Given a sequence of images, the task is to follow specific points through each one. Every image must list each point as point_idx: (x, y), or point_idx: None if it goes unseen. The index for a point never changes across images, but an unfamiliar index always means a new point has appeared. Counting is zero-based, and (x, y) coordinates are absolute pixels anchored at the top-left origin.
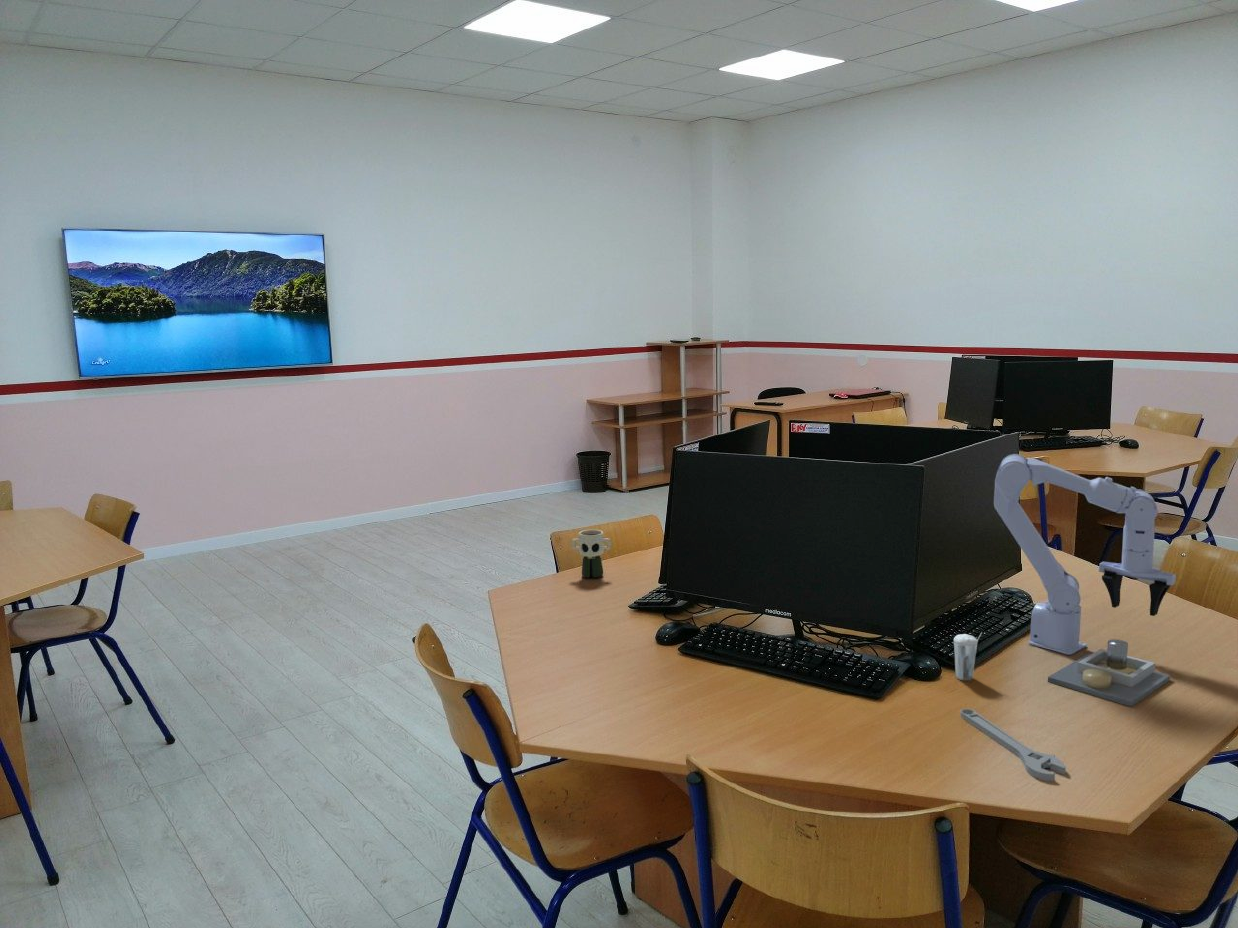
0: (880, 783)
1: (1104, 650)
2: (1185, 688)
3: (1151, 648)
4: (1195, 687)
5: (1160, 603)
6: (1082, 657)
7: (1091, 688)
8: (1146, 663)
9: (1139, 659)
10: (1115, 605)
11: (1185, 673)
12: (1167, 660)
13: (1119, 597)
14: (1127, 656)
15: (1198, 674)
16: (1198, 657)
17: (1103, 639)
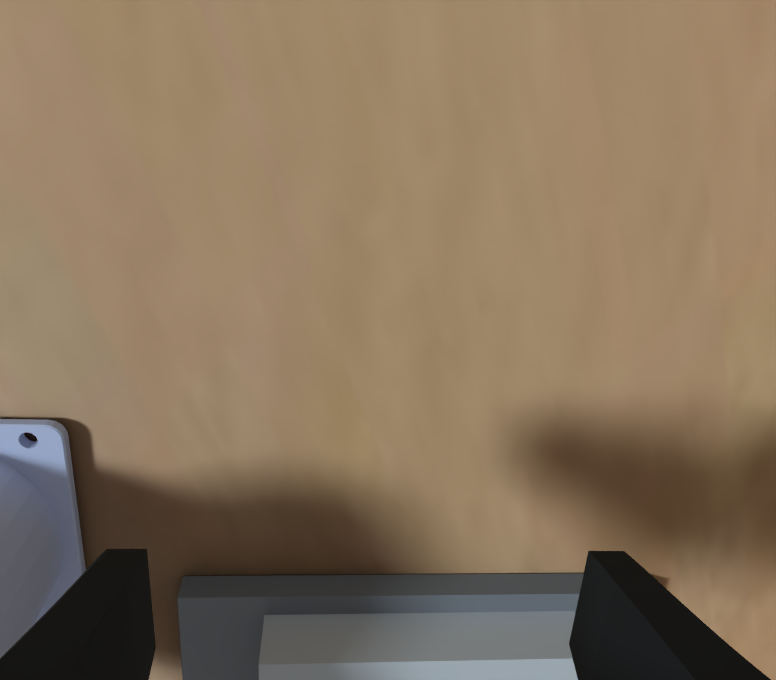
0: None
1: (287, 675)
2: (723, 615)
3: (419, 129)
4: (765, 575)
5: (724, 646)
6: (186, 672)
7: None
8: (552, 678)
9: (507, 665)
10: (147, 666)
11: (700, 435)
12: (572, 299)
13: (107, 639)
14: (435, 672)
15: (767, 400)
16: (745, 81)
17: (61, 187)
